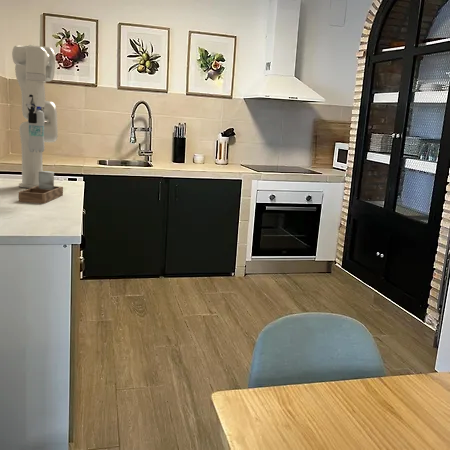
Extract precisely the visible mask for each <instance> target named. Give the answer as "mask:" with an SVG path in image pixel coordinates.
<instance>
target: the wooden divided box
mask: <svg viewBox="0 0 450 450" xmlns="http://www.w3.org/2000/svg"><path fill="white" fill-rule="evenodd" d="M63 196H64V187H63V186H58V185H57V186H56V185H55V171H49V170H43V171H39V185H38V186H35V187H32V188H25V189H23V190H21V191H18V202H19V203H32V204H33V203H35V204H47V203H49V202H51V201H54V200H55V199H58V198H60V197H63Z"/></svg>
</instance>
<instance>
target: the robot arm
mask: <svg viewBox="0 0 450 450" xmlns="http://www.w3.org/2000/svg"><path fill="white" fill-rule="evenodd" d="M11 57H12V62H13V63H14V65H15V67H14V71H15V77H16V80H17V83H18V86H19V88H20V92H21V112H22V116H23V118H24V119H25V120H27V121H24V122H22V123H20V125H19V126H18V127H19V137H20V143H21V182H20V183H18V187H20V188H23V189H29V188H32V187H35V186H38V185H39V171H44V169H43V167H44V166H43V165H44V164H43V152H41V153H40V152H39V150H38V152H37V153H36V152H35V150H34V152H30V151H29V147H28V143H29V123H37V113H36V108H37V107H41V109H39V110H41V111H43V112H44V118H45V121H44V122H45V123H44V143H55V142H56V141H57V140H58V137H59V135H58V133H59V129H58V111H57V106H56V104H55V102H53V101H50V100H46V87H45V84H46V83H47V82H51V81H53V80H54V77H55V69H56V53H55V51H54V49H53V48H52V47H50V46H41V45H34V44H33V45H32V44H29V45H14V46H13V48H12V51H11ZM33 108H34V109H33ZM28 122H29V123H28Z"/></svg>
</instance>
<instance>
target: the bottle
mask: <svg viewBox="0 0 450 450" xmlns="http://www.w3.org/2000/svg"><path fill="white" fill-rule="evenodd" d="M33 109H34V108H33ZM39 109H41V107H37V108H36V113H37V123H29V122H28V123H29V143H28V147H29V151H30V152H34V150H35V152H36V153H37V152H38V150H39V152H40V153H41V152H42V153H44V151H45V142H44V123H45V122H46V121H45V118H44V112H43V111H41V110H39Z"/></svg>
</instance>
